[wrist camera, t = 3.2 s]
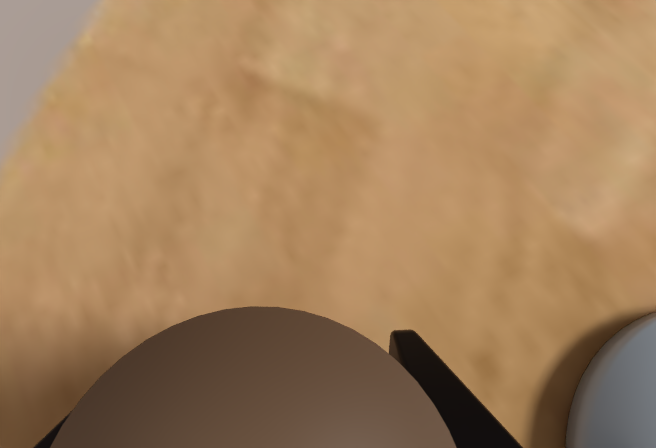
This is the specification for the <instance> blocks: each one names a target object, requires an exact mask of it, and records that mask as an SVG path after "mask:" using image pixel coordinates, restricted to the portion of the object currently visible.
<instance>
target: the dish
mask: <svg viewBox="0 0 656 448" xmlns="http://www.w3.org/2000/svg"><path fill="white" fill-rule="evenodd" d="M566 448H656V312H654V313H651V314H649V315H647V316H644V317H642V318H640V319H638V320H635V321H634V322H632V323H630V324H629V325H627V326H626V327H624V328H623V329H621V330H620V331H618V332H617V333H616V334H615V335H614V336H613V337H612V338H610V339H609V340H608V341H607V342H606V343H605V344H604V345H603V346H602V348H601V349H600V350H599V351H598V352H597V354H596V355H595V356H594V357H593V359H592V360H591V362H590V364H589V365H588V367H587V369H586V370H585V372H584V373H583V375H582V378H581V380H580V382H579V385H578V387H577V389H576V392H575V394H574V398H573V401H572V405H571V409H570V413H569V418H568V425H567V433H566Z"/></svg>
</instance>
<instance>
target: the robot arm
mask: <svg viewBox="0 0 656 448" xmlns="http://www.w3.org/2000/svg"><path fill="white" fill-rule="evenodd" d="M389 355H391V356H392V357H393V358H394V359H396V360H397V361H398V362H399V363H400V364H401V365H402V366H403V367H404V368H405V369H406V371H407V372H408V373H409V374H410V375H411V376H412V377H413V378H414V379H415V380H416V381H417V382H418V384H419V385H420V386H421V388H422V389H423V390H424V392H425V393H426V394H427V396H428V397H429V398H430V400H431V401H432V402H433V404H434V405H435V407H436V409H437V410H438V412H439V414H440V416H441V417H442V419H443V421H444V423H445V424H446V426H447V428H448V430H449V431H450V434H451V436H452V439H453V441H454V443H455V446H456V448H523V447H522V446H521V445H520V444H519V443H518V442H517V441H516V440H515V439H514V437H513V436H512V435H511V434H510V433H509V432H508V431H507V430H506V429H505V428H504V427H503V426H502V424H501V423H500V422H499V421H498V420H497V419H496V418H495V417H494V416H493V415H492V414H491V413H490V412H489V410H488V409H487V408H486V407H485V406H484V405H483V404H482V403H481V402H480V401H479V400H478V399H477V398H476V396H475V395H474V394H473V393H472V392H471V391H470V390H469V389H468V388H467V387H466V386H465V385H464V383H463V382H462V381H461V380H460V379H459V378H458V377H457V376H456V375H455V374H454V373H453V372H452V371H451V369H450V368H449V367H448V366H447V365H446V364H445V363H444V362H443V361H442V360H441V359H440V358H439V357H438V355H437V354H436V353H435V352H434V351H433V350H432V349H431V348H430V347H429V346H428V345H427V344H426V343H425V341H424V340H423V339H422V338H421V337H420V336H419V335H418V334H417V333H416V332H415V331H413V330H394V331H393V332H392V333H391V335H390V345H389ZM72 411H73V410H72ZM72 411H71V412H72ZM71 412H70V413H69V414H68V415H67V416H66V417H65V418H64V419H63V420H62V421H61V422H60V423H59V424H57V425H56V426H55V427H54V428H53V429H52V430H51V431H50V432H49V433H48V434H47V435H46V436H45V437H44V438H43V439H42V440H41V441H40V442H39V443H38V444H36V445H35V446H34V447H33V448H50V447H51V445H52V443H53V441H54V440H55V438H56V436H57V434H58V432H59V430H60V429H61V427H62V425H63V424H64V422H65V421H66V419H67V418H68V417H69V415H70V414H71Z"/></svg>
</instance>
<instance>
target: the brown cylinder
mask: <svg viewBox="0 0 656 448" xmlns="http://www.w3.org/2000/svg"><path fill="white" fill-rule="evenodd" d="M50 448H456V446H455V443H454V441H453V439H452V436H451V434H450V431H449V430H448V428H447V426H446V424H445V423H444V421H443V419H442V417H441V416H440V414H439V412H438V410H437V409H436V407H435V405H434V404H433V402H432V401H431V400H430V398H429V397H428V396H427V394H426V393H425V392H424V390H423V389H422V388H421V386H420V385H419V384H418V382H417V381H416V380H415V379H414V378H413V377H412V376H411V375H410V374H409V373H408V372H407V371H406V369H405V368H404V367H403V366H402V365H401V364H400V363H399V362H398V361H397V360H396V359H394V358H393V357H392V356H391V355H389V354H388V353H387V352H386V351H384V350H383V349H382V348H381V347H380V346H378V345H377V344H376V343H374V342H373V341H371V340H369V339H368V338H366V337H364V336H363V335H361V334H360V333H358V332H356V331H355V330H353V329H351V328H349V327H346V326H344V325H342V324H340V323H337V322H335V321H333V320H331V319H328V318H325V317H322V316H318V315H315V314H311V313H308V312H305V311H299V310H293V309H286V308H280V307H243V308H234V309H225V310H221V311H216V312H212V313H208V314H204V315H200V316H197V317H194V318H192V319H189V320H187V321H184V322H181V323H179V324H176V325H174V326H171V327H169V328H168V329H166V330H164V331H162V332H160V333H158V334H156V335H155V336H153V337H151V338H149V339H147V340H146V341H144V342H143V343H141V344H140V345H139V346H137V347H136V348H134V349H133V350H132V351H130V352H129V353H127V354H126V355H124V356H123V357H122V358H121V359H120V360H119V361H118V362H116V363H115V364H114V365H113V366H112V367H111V368H110V369H109V370H107V371H106V372H105V373H104V374H103V375H102V376H101V377H100V378H99V379H98V380H97V381H96V382H95V384H94V385H93V386H92V387H91V388H90V389H89V390H88V392H87V393H86V394H85V395H84V396H83V397H82V398H81V399H80V401H79V402H78V404H77V405H76V407H75V408H74V409H73V411H72V412H71V414H70V415H69V417H68V418H67V419H66V421H65V422H64V424H63V425H62V427H61V429H60V430H59V432H58V434H57V436H56V438H55V440H54V441H53V443H52V445H51V447H50Z"/></svg>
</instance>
